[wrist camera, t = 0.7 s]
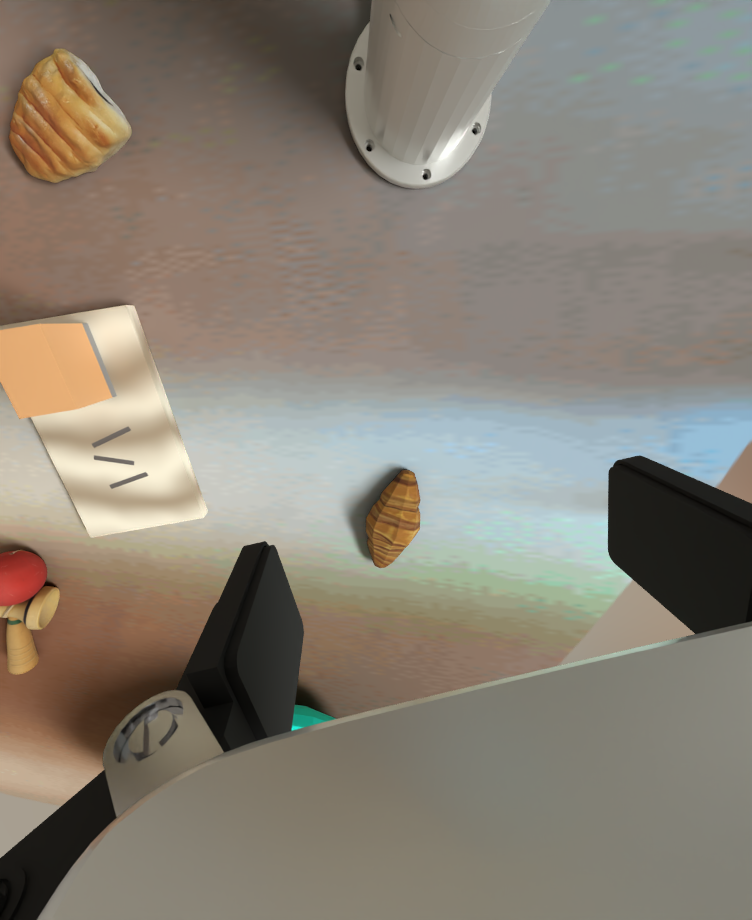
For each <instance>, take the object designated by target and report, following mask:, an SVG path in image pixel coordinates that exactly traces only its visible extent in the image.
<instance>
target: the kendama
mask: <svg viewBox="0 0 752 920" xmlns="http://www.w3.org/2000/svg"><path fill="white" fill-rule="evenodd" d="M46 578H47V567H46V565H45V563H44V561H43V560H42V559H41V558H40V557H39V556H37V555H36V554H34V553H31V552H27V551H24V550H17V551H9V552H4V553H1V554H0V617H2V618H8V620H7V630H6V643H7V659H8V661H7V668H8V671H9V672H10V673H11V674H22V673H25V672H27V671H29V670H31V669H32V668H33V667H35V666H36V664H37V663H38V661H39V656H38V653H37V650H36V647H35V644H34V640H33V637H32V632H31V629H43V628H44V627H45V626H46V625H47V624H48V623H49V622H50V620H51V619H52V617H53V615H54V613H55V611H56V608H57V605H58V601H59V589H58V588H57V587H50V586H45V587H43V585H44V583H45V581H46ZM42 587H43V588H42Z"/></svg>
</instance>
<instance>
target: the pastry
mask: <svg viewBox="0 0 752 920" xmlns="http://www.w3.org/2000/svg"><path fill="white" fill-rule="evenodd" d="M10 127H11V130H10V135H9V139H10V142H11V145H12V147H13V150H14V152H15V153H16V155H17V156H18V158H19V159H20V161H21V162H22V163H23V164H24V166H25V169H26V170H27V171H28V172H29V173H30V174H31V175H32V176H34V177H36V178H39V179H43V180H46V181H50V182H53V183H58V182H60V181H62V180H67V179H69V178H70V177H78V176H79V175H81V174H84V173H87V172H94V171H96V170H97V168H98V166H100V165H101V164H102V163H104V162H105V161H106V160H107V159H108V158H110V157H111V156H113V155H115V154H116V153H117V152H118V151H119V150H120V149H121V148H122V147H123V146H124V145H125V144H126V142H127V141H128V140H129V139H130V136H131V135H132V130H131V126H130V124H129V123H128V121H127V120H126V118H125V116H124V114H123V113H122V111H121V110H120V109H119V107H118V106H117V105H116V104H115V103H114V102H113V101H112V99H111V98H110V97H109V96H108V95H107V94H106V93H105V92H104V91H103V89H102V87H101V85H100V82H99V80H98V79H97V77H96V75H95V74H94V73H93V72H92V71H91V70H90V68H89V67H88V65H86V64H85V63H84V62H83V61H82V60H81V59H80V58H78V57H77V56H75V55H73V54H72V53H70V52H69V51H67V50H65V49H55V50H54V53H53V54H52V55H51V56H49V57H47V58H44V59H43V60H42V61H39V62H38V63H37V64H36V65H35V67H34V69H33V71H32V73H31V74H30V76H28V77H26V78H25V79H24V80H23V82H22V86H21V89H20V91H19V93H18V100H17V102H16V104H15V107H14V112H13V118H12V121H11V123H10Z"/></svg>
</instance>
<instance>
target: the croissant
mask: <svg viewBox="0 0 752 920" xmlns="http://www.w3.org/2000/svg"><path fill="white" fill-rule="evenodd" d="M419 503H420V495H419V490H418V484H417V481H416V477H415V474H414V473H413V472H412V471H409V470H401V472H400V473H399V474H398V475H397V476H396V477H395V479H394V480H393V481H392V482H391V483H390V484H389V485H388V486H387V487H386V488H385V490H384V491H383V492H382V494H381V497H380V499H379V500H378V501H377V502H376V503H375V504H374V505H373V507H372V509H371V510H370V512H369V514H368V516H367V518H366V533H367V535H368V541H367V545H368V548H369V551H370V554H371V557H372V560H373V563H374V565H375V566H377V567H379V568H385V567H386V566H388V565H389V564H391V563H392V562H393V561H394V560H395V559H396V558H397V557H398V556H399V555H400V554H401V552H402V551H403V550H404V548H405V547H407V546H408V545H409V543H410V542H411V541H412V539H413V538H414V536H415V535H416V534H417V532H418V531H419V529H420V512H419V508H418V506H419Z"/></svg>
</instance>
